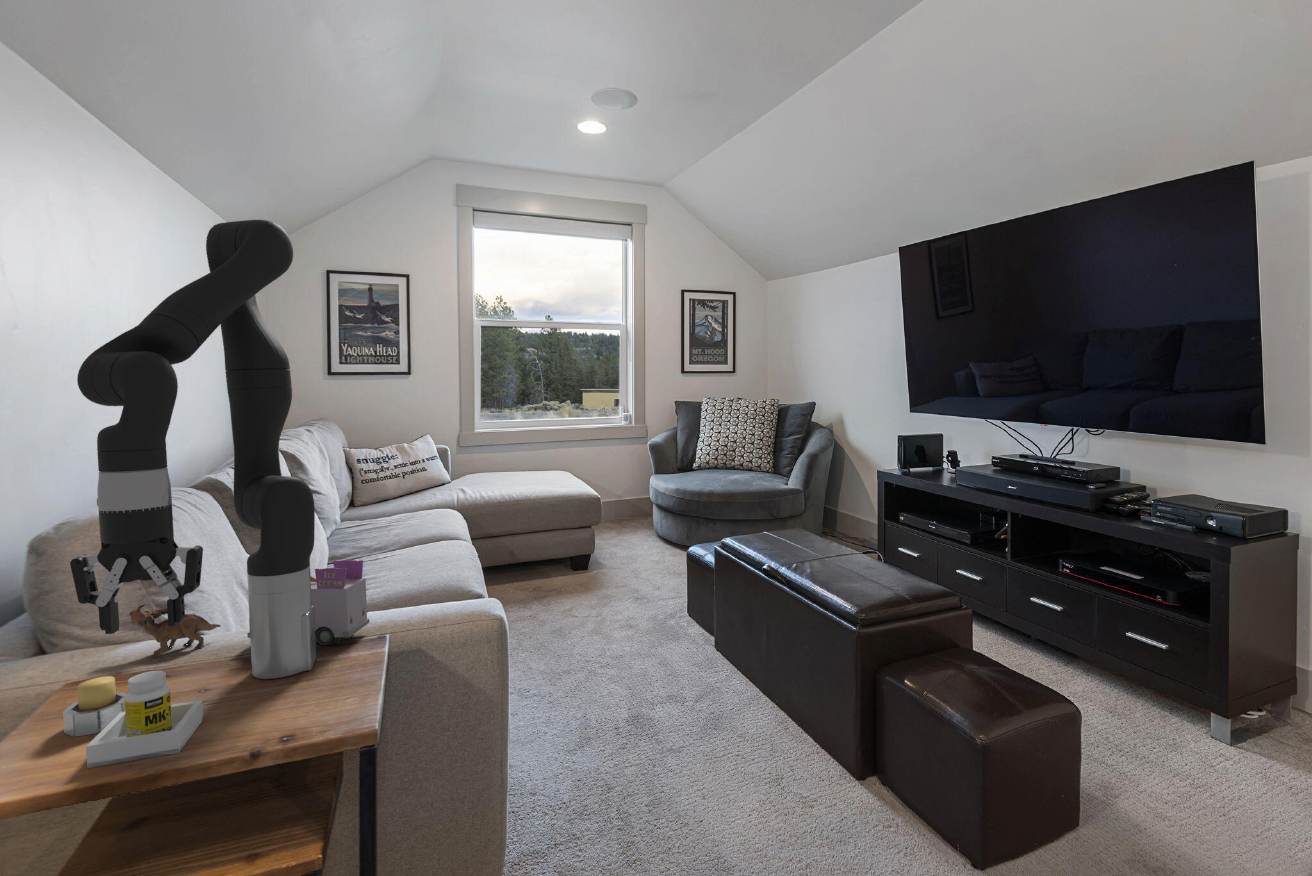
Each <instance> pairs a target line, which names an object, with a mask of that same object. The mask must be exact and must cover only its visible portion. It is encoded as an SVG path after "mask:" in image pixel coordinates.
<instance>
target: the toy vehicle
mask: <svg viewBox="0 0 1312 876" xmlns="http://www.w3.org/2000/svg"><path fill="white" fill-rule="evenodd" d="M332 565H333V567H327V568H315V569H314V574H315V577H313V576H312V575H310V579H311V602H312V605H313V606H314V612H315V635H316V642H317V644H319V645H320V646H323V645H328V646H331V645H332V644H334V643H335V644H338V643H339V642H340V640H341V638H350V637H351V636H353V635H355V634H356V633H357V632H358V631H359V630H362V629H363V628H364V627H366V626H367V625H368V624H370V618H368V610H367V609H368V608H367V606H368V605H367V604H368V603H367V583H366V582H367V581H366V580H367V579H366V577H363V571H364V570H363V569H364V560H363V559H361V560H355V559H342V560H341V559H340V560H335V559H334V560H332ZM248 621H249V622H248V626H249V629H250V619H249V618H248ZM246 634H247V638H248V639H250V631H249V632H247V633H246ZM330 644H331V645H330Z"/></svg>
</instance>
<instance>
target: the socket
mask: <svg viewBox="0 0 1312 876" xmlns="http://www.w3.org/2000/svg"><path fill="white" fill-rule="evenodd" d="M127 694H128V693H126V692H124V691H116V700H115V701H114V702H112V703H110V704H108V705H106V706H103V707H99V708H95V709H88V710H82V709H79V703H78V700H76V701H75V702H73V703H71V704H70V705H69V706H68V707H66V708H65V709H64V710H63V711H62V716H63V731H64V734H66V735H68V736H71V737H73V738H74V737H76V738H77V737H82V736H89V735H94V734H95V735H96V734H99V733H100V732H101V731H102V730H103V729H104V728H105V727H106V726H107V725H108V724H109V723H110V722H111V721H112V720H113V719H114V718H115V717H116V716H117V715H118V714H119V713H120V712H125V697H126V696H127Z"/></svg>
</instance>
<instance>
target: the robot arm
mask: <svg viewBox="0 0 1312 876" xmlns="http://www.w3.org/2000/svg"><path fill="white" fill-rule="evenodd" d="M205 242H206V243H205V251H206V259H207V264H208V268H209V273H207V274H206V275H203V276H201V277H199V278H197V279H195V280H193V281H191V282H190V283H187V284H186V285H184V286H183V287H181V288H179V289H177V290H176V291H174V292H173V293H171V294H170V295H168V296H167V297H165V298H164V299H163V300H162V301H161V302H160V303H159V304H158V305H157V306H156V307H155V308H154V309H153V310H152V311H150V312H149V313H148V314H147V315H146V317H144V318H143V319H142V320H141V322H140V323H139V324H137V325H135V326H133V328H131V329H128V330H125V332H123V333H120V334H119V335H118V336H116V337H114V338H113V339H111V340H109V341H108V342H106V343H104V344H103V345H101V346H100V347H98V348H96V349H95V350H94V351H93V352H91V353H90V354H89V355H88V356H87V357H86V359H84V361H83V362H82V364H81V365H80V366H79V370H78V373H77V377H76V378H77V379H76V380H77V381H76V382H77V386H78V389H79V391H80V393H81V394H82V396H84V397H85V398H86V399H87V400H88V401H90V402H92V403H94V404H97V405H100V406H106V407H122V410H121V414H120V417H119V420H118V422H117V423H115V424H112V425H109V426H106V427H104V428H102V429H101V430H99V431H98V434H97V437H96V438H97V439H96V446H97V448H96V452H97V464H98V465H97V466H98V479H97V481H98V482H97V488H96V489H97V498H96V506H97V507H98V522H99V524H98V525H99V539H100V545H101V547H100V550H99V551H98V553H95V554H90V555H89V554H83V555H79V556H76V557H75V558H73V559H71V560H70V563H69V565H70V569H71V573H72V579H73V583H74V587H75V592H76V598H77V601H78V602H79V604H82V605H85V604H91V605H94V606H97V609H98V621H99V628H100V629H101V631H105V634H106V635H113V634H115V633H117V632H119V630H120V615H119V602H118V601H115V600H116V598H117V596H118V594H119V593H120V591H121V588H122V587H124V584H126V583H131V582H134V581H142V582H143V581H144V582H147V581H154V582H155V584H156V585H157V586H158V587H159V588H161V589H162V590H163V593H165V595H166V596H167V598H168V599H167V600H166V608H167V614H166V615H167V619H168V626H169V627H174V626H177V625H178V624H179V623H180V621H181V620H182V619H183V618H184V616H185V614H186V611H185V607H186V605H185V595H187V594H191V593H193V592H194V591H196V590H197V589H198V588H200V586H201V577H202V567H203V554H204V547H203V546H202V545H200V544H199V545H197V544H196V545H195V546H192V547H187V546H186V547H183V546H181V547H180V546H178V544H177V543H176V541H175V538H174V536H175V532H174V517H173V516H174V515H173V499H172V497H173V496H172V485H171V479H170V475H169V470H168V456H167V441H166V439H167V435H168V431H169V428H170V425H171V420H172V416H173V412H174V410H175V409H174V408H175V404H176V401H177V397H178V389H179V385H178V384H179V383H178V377H177V374H176V371H175V369H174V367H173V365H177V364H180V363H183V362H185V361H187V360H188V359H190V358H191V357H192V356H193V355H194V354H195V353H196V352H197V351H198V349H199V348H200V347H201V346H202V345H203V344H204V343H205V342H206V340H208V339H209V337H211V335H212V334H213V333H214V332H215V331H216V329H218V327H219V326H220V329H221V330H220V331H221V337H222V345H223V346H222V347H223V352H224V353H223V355H224V370H225V372H224V373H225V379H226V389H227V395H228V396H227V397H228V402H229V408H230V411H229V412H230V421H231V422H230V423H231V432H232V433H231V435H232V442H233V504H234V511H235V513H236V516H237V518H238V519H239V520H240V521H241V522H242V523H243V524H244V525H245V526H248V527H250V528H252V529H258V530H260V545H259V548H258V549H257V551H255V552H253V553H251V554H250V555H249V556H248V557H247V560H246V571H247V574H246V575H247V591H248V592H247V595H248V614H249V618H248V620H249V619H250V628H249V632H250V638H249V639H250V654H251V655H250V656H251V673H252V676H253V677H254V678H257V679H261V680H262V679H263V680H270V679H280V678H285V677H286V678H287V677H289V676H293V675H296V674H299V673H302V672H307V671H312V669H313V667H314V665H315V662H316V660H317V643H316V642H317V641H316V635H315V612H314V606H313V605H312V602H311V579H310V576H311V556H312V553H313V551H314V546H315V527H316V526H315V522H316V518H315V516H316V515H315V514H316V512H315V509H316V508H315V507H316V506H315V499H314V494H313V492H312V490H311V488H310V486H309V484H308V483H307V482H305V481H304V480H303V479H301V478H299V477H296V476H288V475H287V476H286V475H283V474H282V470H281V463H280V462H281V461H280V455H279V454H280V449H279V448H280V440H281V435H282V432H283V429H284V426H285V423H286V420H287V418H288V416H289V412H290V409H291V405H292V401H293V400H292V399H293V387H292V385H293V384H292V376H291V375H292V374H291V367H290V366H291V365H290V360H289V357H288V355H287V353H286V351H285V349H284V347H283V346H282V344H281V343H280V341H279V340H278V337H276V336H275V334H274V333H273V331H272V330H271V329H270V327H269V326H268V324H267V323H266V321H265V320H264V319H263V317H262V315H261V312H260V310H259V307H258V304H257V297H256V294H258V293H259V292H260V291H262V290H263V289H264V288H266V287H267V286H269V285H270V284H271V283H273V282H275V281H276V280H278V278H280V277H281V276H283V275H284V274H285V273H286V272H287V271H288V270H289V268H290V267H291V265H292V263H293V259H294V248H293V244H292V241H291V238H290V236H289V235H288V233H287V232H286V230H285V229H284V228H283V227H282V226H280V225H279V224H277V223H276V222H274V221H271V220H268V219H267V220H265V219H246V220H236V221H226V222H220V223H216V224H214V225H213V226H212V227H210V229H209V230H208V233H207V235H206V241H205ZM177 556H178V557H179V559H180V561H181V563H182V564H184V565H185V570H184V578H183V579H184V580H183V584H182V583H181V581H180V580H179V578H178V574H177V572H176V571H175V569H173V567H172V566H171V564H172V562H173V561H174V560H175V558H176V557H177ZM98 563H99V564H100V565H101V566H102V567H103V568H105V569H106V570H107V571H108V575H107V577H106V580H105V581H104V582H103V585H102V587H101V588H102V590H101V591H99V587H98V584H97V579H96V574H95V570H97V568H98ZM315 659H316V660H315Z"/></svg>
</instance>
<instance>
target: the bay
mask: <svg viewBox="0 0 1312 876" xmlns="http://www.w3.org/2000/svg"><path fill="white" fill-rule="evenodd" d="M203 703H204V701H203V700H194V701H187V702H180V703H174V704H171V723H172V724H171V725H172V730H170V731H164V732H157V733H151V734H145V735H139V736H132V737H127V735H126V714H125V712H120V713H119V714H118V715H117V716H116V717H115V718H114V719H113V720H112V721H111V722H110V723H109V724H108V725H107V726H106V727H105V728H104V729H103V730H102V731H101V732H99V733H97V735H95V737H94V738H93V739H92V740H91V741H90V742H89V743H88V744H87V745H86V746H85V751H86V752H85V753H86V755H85V756H86V767H87V769H93V768H98V767H103V766H110V765H114V764H120V763H121V764H122V763H127V762H131V761H132V762H133V761H140V760H144V759H151V758H158V757H161V756H167V755H175V754H180V753H181V751H182V750H183V749H184V747H185V746H186V744H187V743H188V741H189V740H190V739H191V737H192V736H193V735H194V733H195V732H196V730H197V729H198V727H199V726H200V725H201V724H202V722H203V720H204V704H203Z"/></svg>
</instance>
